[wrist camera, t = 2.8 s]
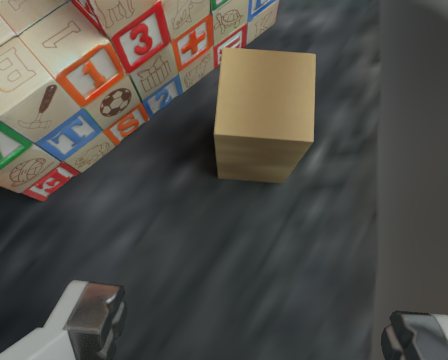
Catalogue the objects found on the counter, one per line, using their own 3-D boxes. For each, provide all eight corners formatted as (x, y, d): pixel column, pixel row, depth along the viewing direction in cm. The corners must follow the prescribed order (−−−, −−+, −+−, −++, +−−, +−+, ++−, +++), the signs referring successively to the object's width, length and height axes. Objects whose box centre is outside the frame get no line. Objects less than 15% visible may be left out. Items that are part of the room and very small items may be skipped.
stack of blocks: (47, 207, 23) (-152, 138, 11) (-1, 142, 24) (-225, 19, 12) (275, 28, 26) (313, -174, 14) (223, -20, 27) (217, -242, 16)
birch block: (217, 181, 24) (212, 134, 15) (222, 122, 25) (221, 46, 16) (281, 186, 23) (314, 142, 15) (284, 127, 24) (317, 53, 16)
